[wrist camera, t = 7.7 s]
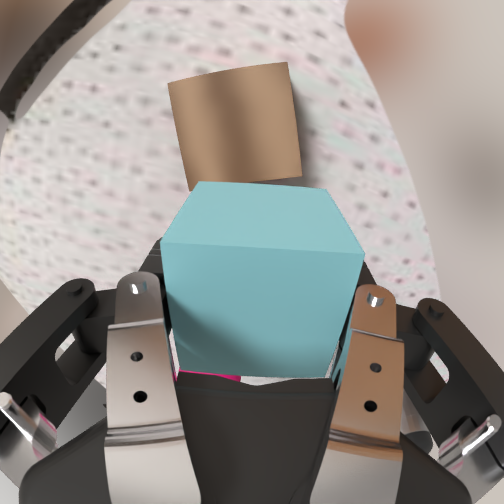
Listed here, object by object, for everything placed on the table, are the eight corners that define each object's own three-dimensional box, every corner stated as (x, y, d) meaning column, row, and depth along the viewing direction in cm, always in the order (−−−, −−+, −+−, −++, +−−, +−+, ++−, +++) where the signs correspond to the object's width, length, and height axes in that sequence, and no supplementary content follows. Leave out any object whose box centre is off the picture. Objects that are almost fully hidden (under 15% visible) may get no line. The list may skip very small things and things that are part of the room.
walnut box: (283, 69, 27) (287, 61, 22) (296, 163, 32) (302, 176, 27) (184, 85, 28) (167, 83, 23) (201, 176, 33) (189, 191, 28)
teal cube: (326, 189, 11) (365, 254, 7) (308, 291, 14) (324, 377, 9) (198, 181, 11) (160, 242, 7) (202, 285, 14) (180, 370, 9)
